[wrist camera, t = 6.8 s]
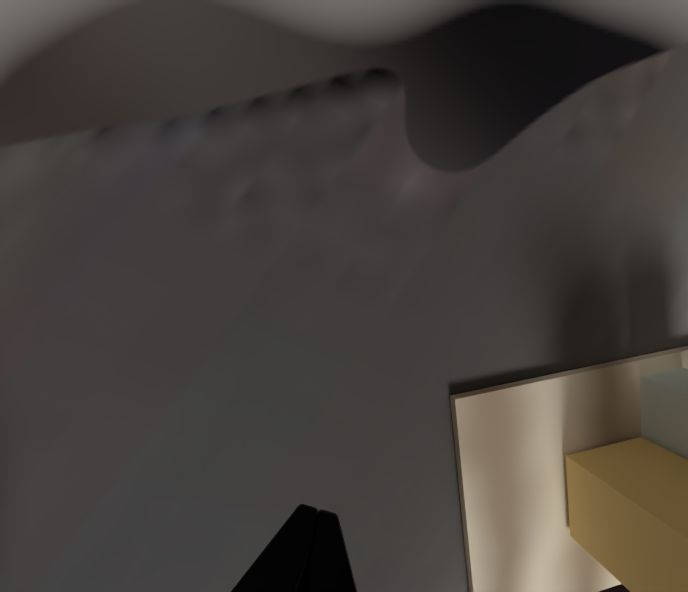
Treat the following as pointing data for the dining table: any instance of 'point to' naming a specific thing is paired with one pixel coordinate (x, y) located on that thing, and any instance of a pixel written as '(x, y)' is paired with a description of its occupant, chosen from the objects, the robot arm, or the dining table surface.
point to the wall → (666, 410)
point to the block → (632, 513)
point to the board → (540, 469)
